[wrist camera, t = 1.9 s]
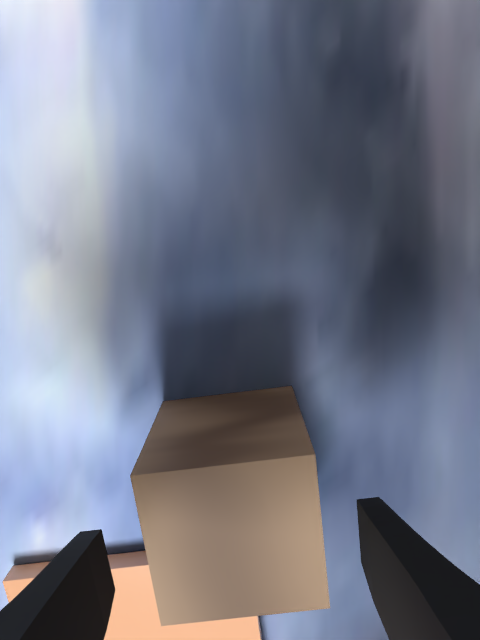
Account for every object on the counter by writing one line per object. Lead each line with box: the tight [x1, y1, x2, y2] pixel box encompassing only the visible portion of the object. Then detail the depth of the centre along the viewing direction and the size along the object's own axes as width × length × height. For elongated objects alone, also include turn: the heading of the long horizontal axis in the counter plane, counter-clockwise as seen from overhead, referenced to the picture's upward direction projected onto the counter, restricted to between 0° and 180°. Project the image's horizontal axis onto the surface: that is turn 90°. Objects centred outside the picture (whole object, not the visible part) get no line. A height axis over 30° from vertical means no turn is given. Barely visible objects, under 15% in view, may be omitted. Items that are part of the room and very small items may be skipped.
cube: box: [130, 386, 330, 626], centre depth 14 cm, size 5×5×5 cm
